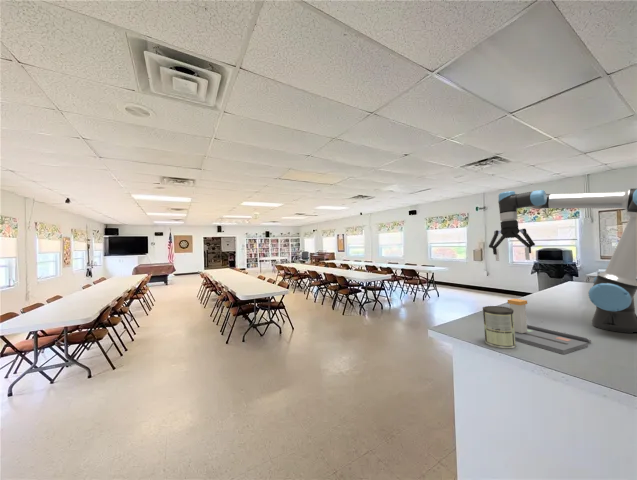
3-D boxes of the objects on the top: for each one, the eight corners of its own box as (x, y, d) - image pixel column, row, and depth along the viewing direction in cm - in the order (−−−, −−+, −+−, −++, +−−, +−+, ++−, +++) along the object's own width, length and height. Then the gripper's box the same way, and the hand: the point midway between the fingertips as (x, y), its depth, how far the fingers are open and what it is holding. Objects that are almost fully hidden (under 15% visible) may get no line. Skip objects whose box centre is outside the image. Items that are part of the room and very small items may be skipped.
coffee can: (479, 339, 109) (477, 306, 110) (505, 339, 108) (503, 305, 109) (493, 348, 99) (491, 311, 100) (522, 348, 98) (519, 311, 99)
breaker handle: (509, 330, 113) (507, 299, 114) (516, 328, 115) (514, 298, 116) (522, 333, 109) (519, 301, 109) (529, 332, 111) (527, 300, 111)
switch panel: (491, 333, 116) (491, 330, 116) (514, 328, 121) (513, 325, 122) (563, 354, 91) (563, 350, 91) (587, 346, 97) (587, 342, 97)
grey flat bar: (521, 329, 120) (520, 324, 120) (527, 327, 122) (526, 323, 122) (587, 345, 99) (586, 339, 99) (593, 343, 100) (592, 337, 101)
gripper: (533, 219, 138) (537, 259, 136) (480, 223, 145) (483, 260, 144) (540, 217, 130) (544, 259, 129) (484, 221, 138) (487, 261, 137)
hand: (512, 260), depth 137 cm, fingers open, 13 cm apart
